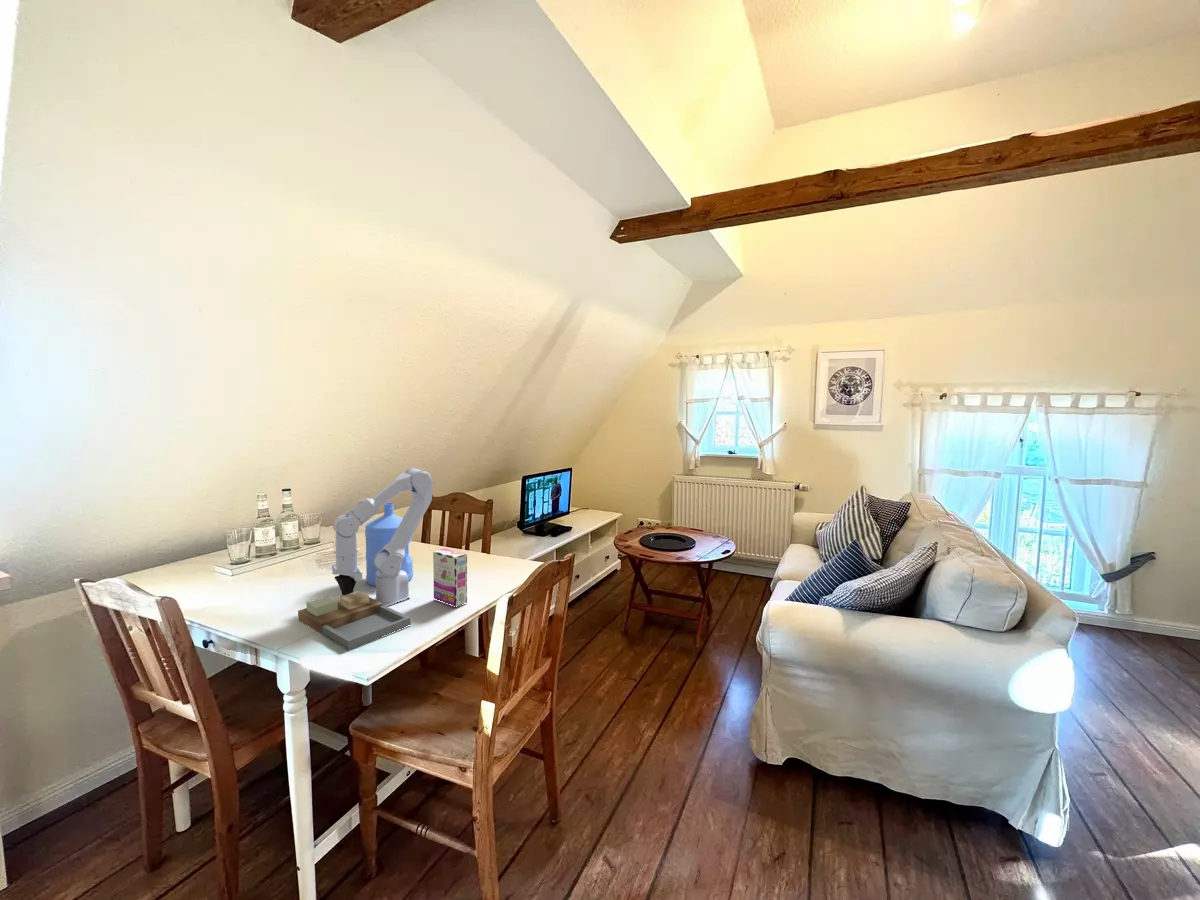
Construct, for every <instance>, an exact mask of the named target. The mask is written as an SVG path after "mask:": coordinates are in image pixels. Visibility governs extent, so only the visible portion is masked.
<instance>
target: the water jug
mask: <svg viewBox="0 0 1200 900" xmlns="http://www.w3.org/2000/svg"><path fill="white" fill-rule="evenodd" d="M394 505H395V504H394V503H393V502H387V503H386V502H385V503H383V506H384V507H383V515H382V516H379V517H378V518H374V519H373V520H372V521H369V522H367V523H366V525H365V530H364V537H365V564H366V565H365V567H366V571H365V572H366V575H365V581H366V583H367V584H368V585H370V586H372V587H376V575H375V574H376V572H377V568H376V567H375V565H374V562H373V561H374V557H375V556H376V554H377V553H379V552H380V551H381V550H382V549H383V547H384V546H385V545H386V544H388V543H389V542H390V540H391V539H392V537H393V535H394V533H395V532H396V530H397V528H398V526H399V525H400V523H401V521H402V519H403V518H404V517H402V516H399V515H396V514H395V513H394ZM412 541H413V536H412V537H411V539H410V541H409V542H408V544H407V546H406V548H405V556H404V559H403V561H402V568H401V570H403V571H405V572H406V573H407V576H408V582H409V581H411V580H412V579H413V577H414V570H413V567H414V566H413V557H412V556H411V555H410V554H409V553H410V552H409V550H410V549H409V544H410V543H411V542H412ZM410 579H411V580H410Z"/></svg>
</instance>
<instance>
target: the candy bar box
mask: <svg viewBox="0 0 1200 900" xmlns="http://www.w3.org/2000/svg"><path fill="white" fill-rule="evenodd" d="M432 555H433V557H432V558H433V599H434V598H435V599H437V600H440V601H443V602H445V603H448V604H451V605H453V606H455V607H456V606H459V605H462V604H464V603H467V604H468V554H467V553H462V552H459V551H455V550H451V549H448V548H443V549H439V550H438V549H437V550H434V551H433V554H432ZM464 605H465V604H464ZM462 606H463V605H462ZM455 607H454V608H455ZM459 607H460V606H459Z"/></svg>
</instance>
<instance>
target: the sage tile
mask: <svg viewBox="0 0 1200 900" xmlns="http://www.w3.org/2000/svg"><path fill="white" fill-rule="evenodd" d="M306 608H307V611H308V612H310V613H312V614H313V615H315V616H319V615H322V614H325V613H328V612H331V611H334V610H338V601H336V600H335V598H332V597H330V596H324V597H321V598H317V599H314V600H310V601H307V602H306Z"/></svg>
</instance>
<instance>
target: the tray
mask: <svg viewBox="0 0 1200 900" xmlns="http://www.w3.org/2000/svg"><path fill="white" fill-rule="evenodd" d="M408 625H411V626H412V620H411V617H410V616H408V615H406V614H404V613H401V612H399V611H397V610H395V609H393V608H391V607H389V606H384V605H383V606H380V613H378V614H375V615H372V616H369V617H366V618H363V619H360V620H358V621H355V622H352V623H349V624H346V625H343V626H340V627H338V628H335V629H334V628H332V627H330V626H328V625H324V626H322V634H321V635H322V636H323V637H325V638H327V639H328V640H330V641H332V642H334V643H335V644H337V645H339V646H340V647H342V648H343V649H345V650H346V651H351V650H353V649H357V648H359V647H361V646H364V645H366V644H368V642H369V643H371V642H370V641H372V640H374V641H376V640H375V639H377V638H379V639H381V638H380V637H382V636H384V635H387V634H389V633H392V632H394V631H397V630H399V629H402V628H404V627H406V626H408ZM404 629H405V628H404ZM402 630H403V629H402ZM399 631H400V630H399ZM397 632H398V631H397ZM394 633H395V632H394ZM392 634H393V633H392ZM389 635H390V634H389ZM387 636H388V635H387ZM384 637H385V636H384ZM382 638H383V637H382ZM377 640H378V639H377ZM372 642H373V641H372ZM365 643H366V644H365ZM363 644H364V645H363Z"/></svg>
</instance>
